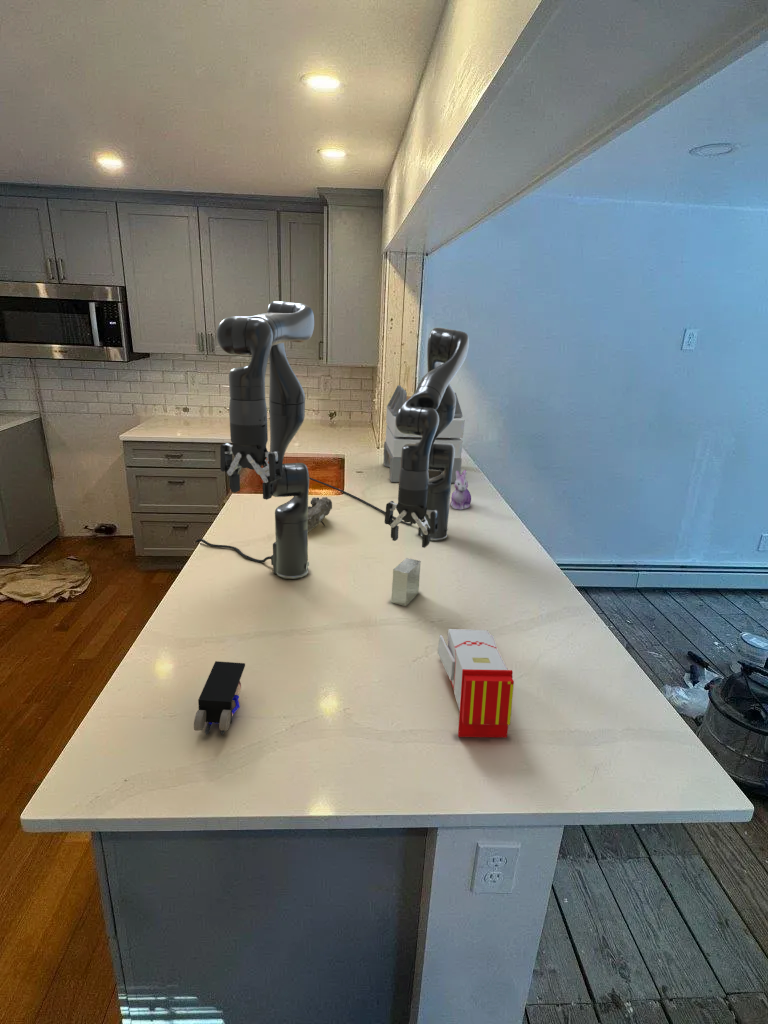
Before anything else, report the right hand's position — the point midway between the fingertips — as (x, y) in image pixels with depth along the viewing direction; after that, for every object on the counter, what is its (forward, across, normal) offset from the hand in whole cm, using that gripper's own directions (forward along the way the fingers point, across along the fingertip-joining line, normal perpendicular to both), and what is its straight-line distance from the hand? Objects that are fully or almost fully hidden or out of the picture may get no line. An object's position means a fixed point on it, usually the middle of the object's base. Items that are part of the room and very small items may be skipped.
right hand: (409, 543), depth 150 cm
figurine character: (+17, -12, -61) cm, 64 cm away
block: (+16, 0, 0) cm, 16 cm away
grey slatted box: (+15, -45, +119) cm, 128 cm away
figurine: (+16, -12, +82) cm, 84 cm away
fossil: (+16, -51, +33) cm, 62 cm away
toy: (+17, +28, -31) cm, 45 cm away
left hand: (-19, -23, -36) cm, 47 cm away
